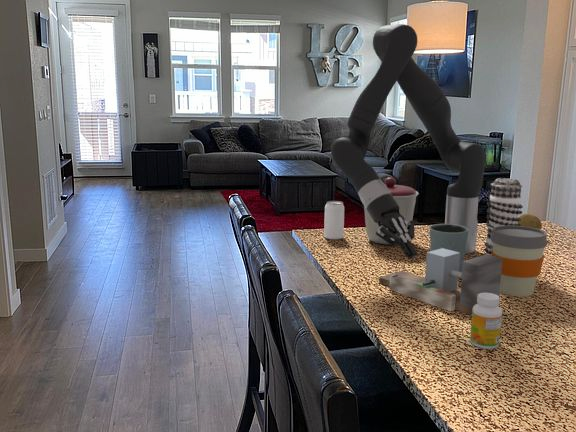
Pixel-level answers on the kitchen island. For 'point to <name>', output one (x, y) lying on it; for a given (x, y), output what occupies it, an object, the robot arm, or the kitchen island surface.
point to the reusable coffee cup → (519, 257)
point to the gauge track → (475, 279)
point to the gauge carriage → (443, 269)
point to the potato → (530, 221)
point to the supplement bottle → (486, 321)
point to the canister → (404, 200)
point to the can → (334, 220)
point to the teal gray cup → (449, 239)
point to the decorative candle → (503, 207)
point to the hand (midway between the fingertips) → (413, 256)
